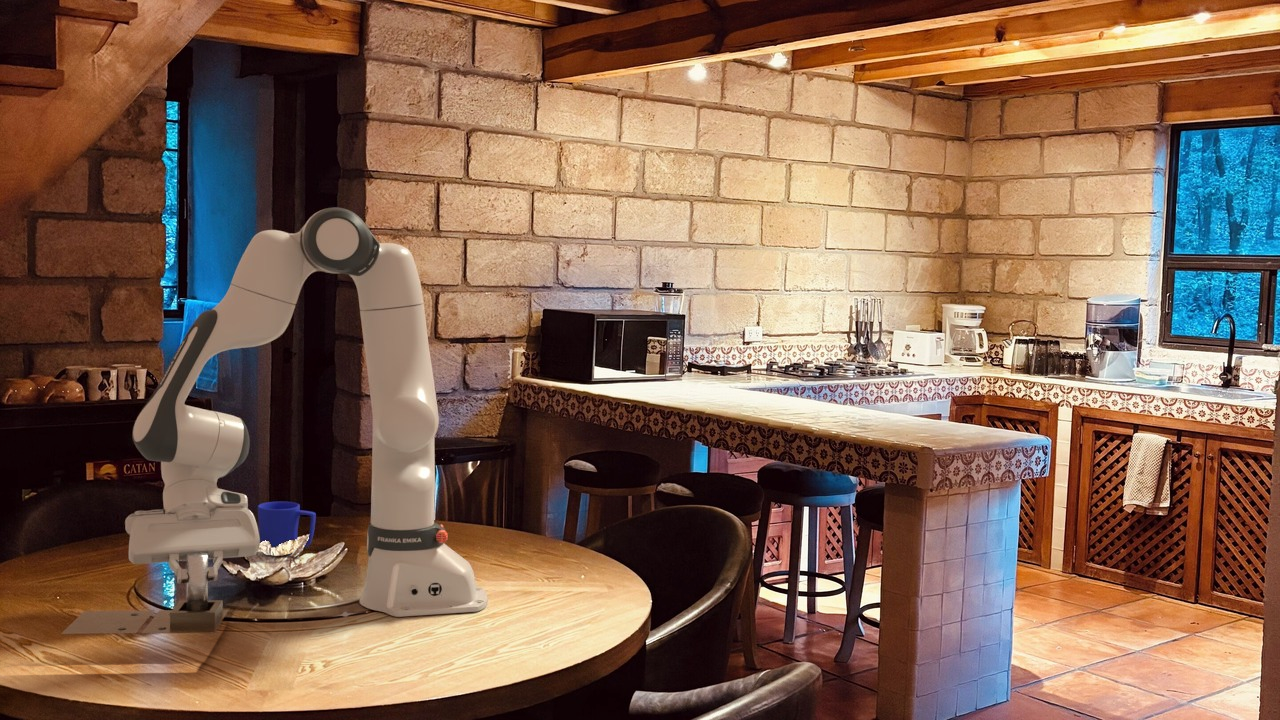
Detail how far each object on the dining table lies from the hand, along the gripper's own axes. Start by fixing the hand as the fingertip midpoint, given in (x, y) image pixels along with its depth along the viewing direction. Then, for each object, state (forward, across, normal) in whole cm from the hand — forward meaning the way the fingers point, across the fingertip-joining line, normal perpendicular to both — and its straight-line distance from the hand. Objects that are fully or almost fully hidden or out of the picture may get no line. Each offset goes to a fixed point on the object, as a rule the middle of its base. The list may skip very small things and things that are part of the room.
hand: (197, 580), depth 190 cm
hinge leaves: (+4, -7, +8) cm, 11 cm away
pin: (+3, 0, +4) cm, 5 cm away
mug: (-25, +22, +37) cm, 50 cm away
